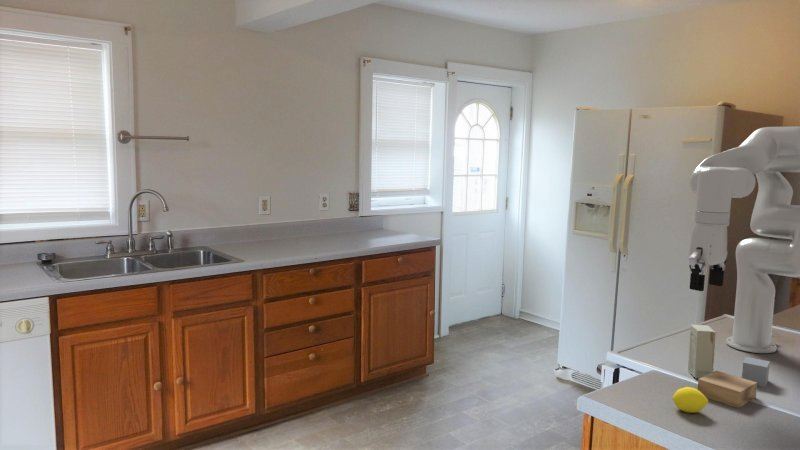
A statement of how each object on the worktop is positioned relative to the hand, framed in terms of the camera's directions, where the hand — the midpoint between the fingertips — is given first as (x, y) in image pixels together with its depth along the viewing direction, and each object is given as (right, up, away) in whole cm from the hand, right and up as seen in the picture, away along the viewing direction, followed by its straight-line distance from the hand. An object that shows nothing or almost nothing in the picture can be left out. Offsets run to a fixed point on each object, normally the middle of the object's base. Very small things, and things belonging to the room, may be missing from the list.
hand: (706, 287), depth 144 cm
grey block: (+11, -23, -1) cm, 26 cm away
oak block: (-1, -24, -10) cm, 26 cm away
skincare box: (0, -23, +3) cm, 23 cm away
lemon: (-13, -25, -18) cm, 34 cm away
